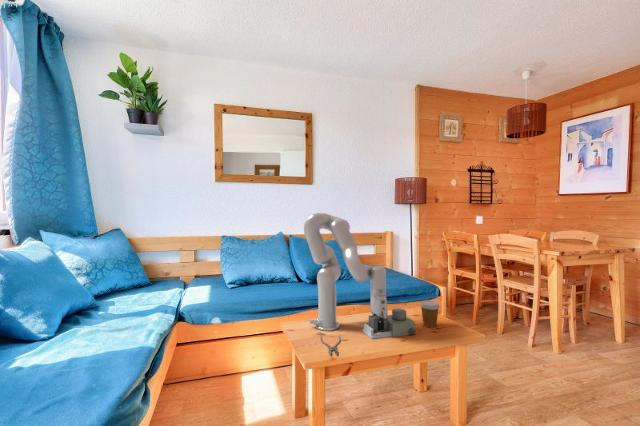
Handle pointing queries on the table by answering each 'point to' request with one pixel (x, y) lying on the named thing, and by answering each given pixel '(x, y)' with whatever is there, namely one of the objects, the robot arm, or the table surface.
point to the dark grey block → (374, 322)
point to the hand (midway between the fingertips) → (378, 327)
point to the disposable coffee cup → (429, 313)
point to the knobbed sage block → (393, 326)
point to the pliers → (332, 347)
